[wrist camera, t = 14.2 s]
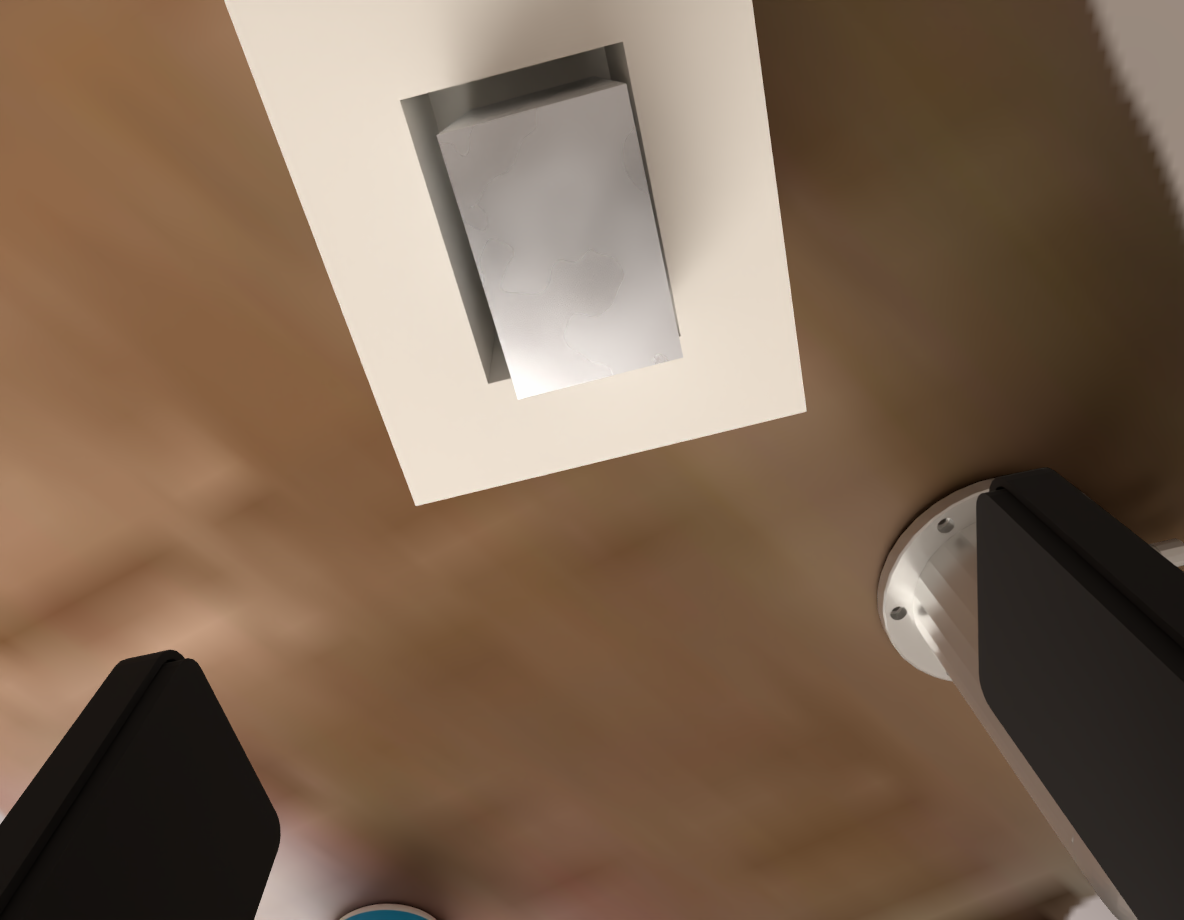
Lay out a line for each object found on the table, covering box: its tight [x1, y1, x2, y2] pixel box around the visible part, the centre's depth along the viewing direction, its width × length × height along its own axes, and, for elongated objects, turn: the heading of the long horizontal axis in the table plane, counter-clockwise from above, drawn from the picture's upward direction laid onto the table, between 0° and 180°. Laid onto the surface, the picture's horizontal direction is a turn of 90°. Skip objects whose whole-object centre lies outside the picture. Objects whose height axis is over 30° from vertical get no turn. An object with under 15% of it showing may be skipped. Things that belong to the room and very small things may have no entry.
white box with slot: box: [224, 0, 807, 506], centre depth 28 cm, size 12×14×14 cm
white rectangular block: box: [436, 76, 683, 400], centre depth 23 cm, size 4×6×10 cm, turn 14°
